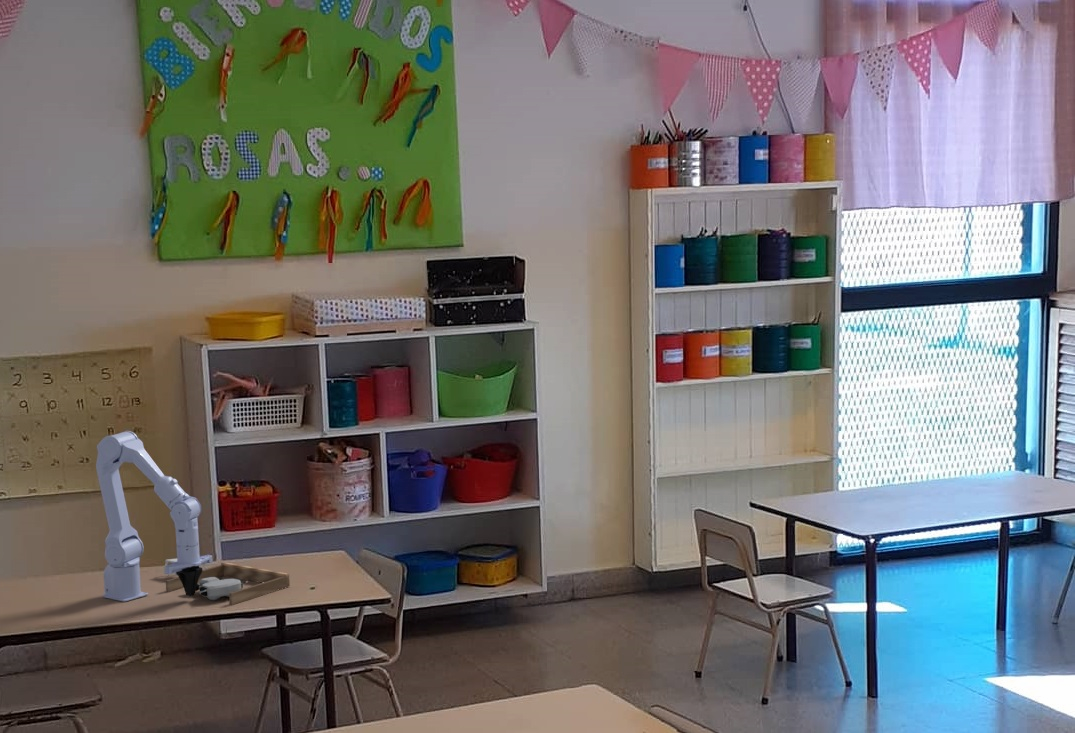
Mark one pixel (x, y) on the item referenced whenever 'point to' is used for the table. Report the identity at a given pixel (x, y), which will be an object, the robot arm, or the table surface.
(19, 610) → the table surface
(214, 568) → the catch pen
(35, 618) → the table surface
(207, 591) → the robot toy
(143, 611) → the table surface
